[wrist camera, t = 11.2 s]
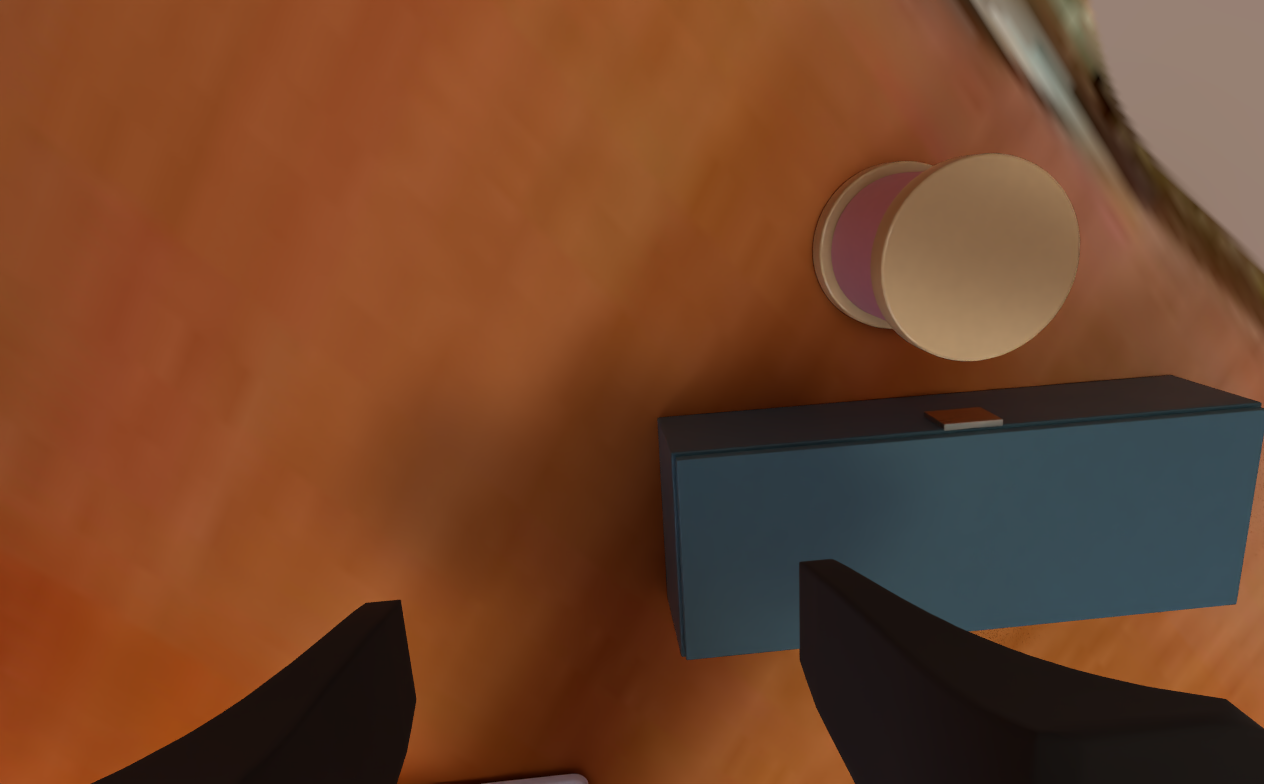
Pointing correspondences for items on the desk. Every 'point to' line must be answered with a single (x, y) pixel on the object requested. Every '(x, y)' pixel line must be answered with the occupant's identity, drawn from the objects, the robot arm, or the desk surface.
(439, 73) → the desk surface
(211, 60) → the desk surface
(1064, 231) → the spool
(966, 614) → the pencil box
